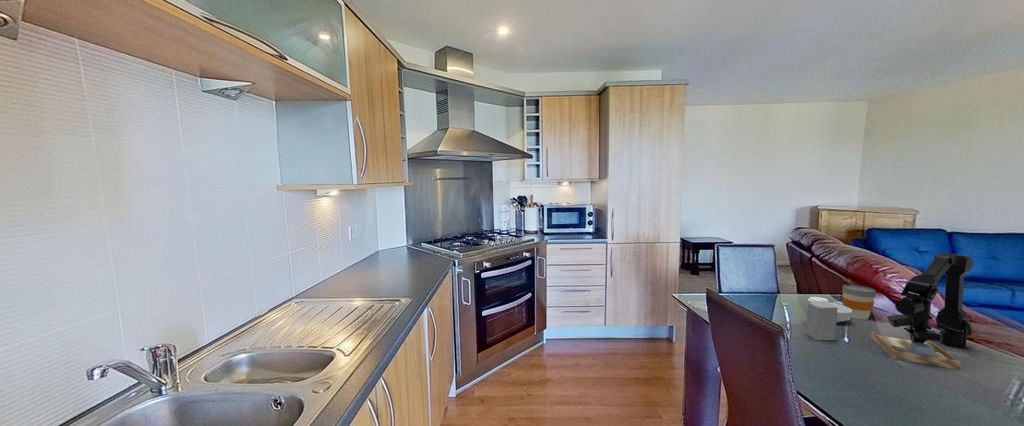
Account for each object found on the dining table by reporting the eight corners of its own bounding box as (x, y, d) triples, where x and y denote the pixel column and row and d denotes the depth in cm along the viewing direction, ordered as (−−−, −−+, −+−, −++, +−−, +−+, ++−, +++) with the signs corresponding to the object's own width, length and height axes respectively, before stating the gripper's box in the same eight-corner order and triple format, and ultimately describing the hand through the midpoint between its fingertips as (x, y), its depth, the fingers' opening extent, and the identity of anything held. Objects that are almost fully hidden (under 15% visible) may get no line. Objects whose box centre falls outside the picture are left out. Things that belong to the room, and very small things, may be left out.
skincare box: (824, 334, 163) (826, 301, 162) (836, 341, 156) (839, 307, 155) (804, 334, 164) (806, 301, 163) (816, 341, 157) (818, 306, 156)
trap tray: (927, 345, 151) (928, 339, 151) (959, 369, 133) (960, 361, 132) (870, 337, 160) (871, 331, 160) (893, 358, 141) (893, 351, 141)
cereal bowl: (860, 327, 171) (861, 313, 170) (820, 325, 174) (821, 311, 174) (836, 314, 187) (837, 301, 187) (800, 312, 191) (801, 299, 190)
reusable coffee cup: (869, 314, 187) (871, 286, 185) (877, 322, 176) (879, 293, 175) (837, 310, 193) (839, 283, 192) (843, 317, 183) (845, 289, 181)
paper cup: (831, 330, 168) (833, 301, 167) (815, 330, 168) (817, 301, 167) (817, 323, 176) (819, 296, 175) (802, 323, 176) (803, 296, 175)
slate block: (926, 354, 141) (927, 343, 140) (932, 359, 137) (933, 348, 136) (910, 352, 143) (911, 341, 142) (916, 357, 139) (917, 346, 138)
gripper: (881, 301, 154) (878, 335, 155) (902, 315, 137) (898, 354, 139) (917, 305, 149) (914, 340, 150) (944, 320, 132) (940, 360, 134)
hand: (915, 348), depth 143 cm, fingers closed
